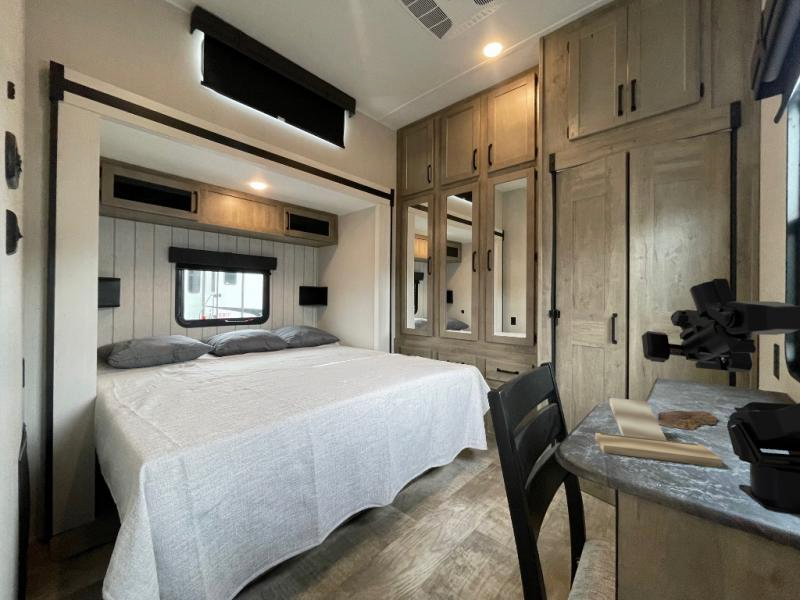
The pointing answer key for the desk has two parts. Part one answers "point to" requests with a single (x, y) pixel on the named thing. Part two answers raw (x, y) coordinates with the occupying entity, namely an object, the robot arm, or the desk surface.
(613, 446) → the oak floor board
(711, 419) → the wooden fragment
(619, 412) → the birch plank
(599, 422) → the desk surface
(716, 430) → the desk surface
